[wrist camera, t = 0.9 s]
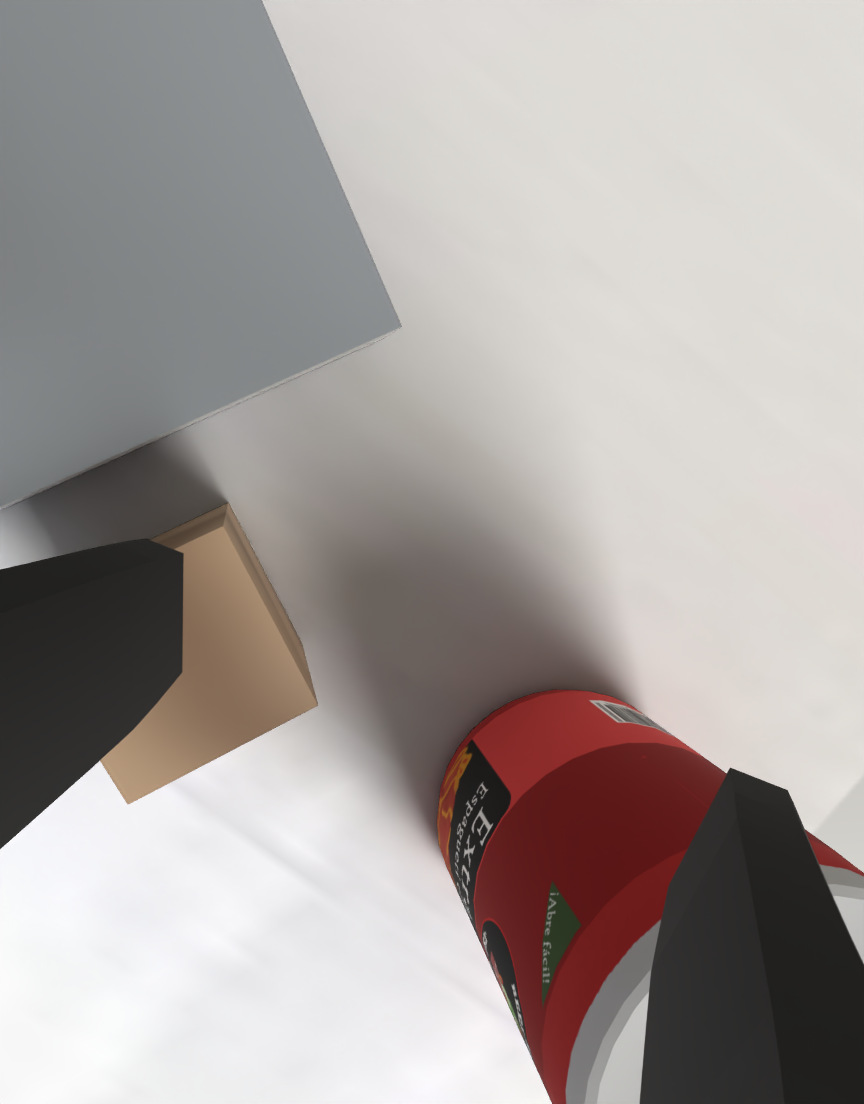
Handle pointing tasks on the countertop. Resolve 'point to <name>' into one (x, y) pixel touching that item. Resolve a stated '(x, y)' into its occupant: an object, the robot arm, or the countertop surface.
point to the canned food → (582, 873)
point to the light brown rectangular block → (217, 662)
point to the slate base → (160, 229)
